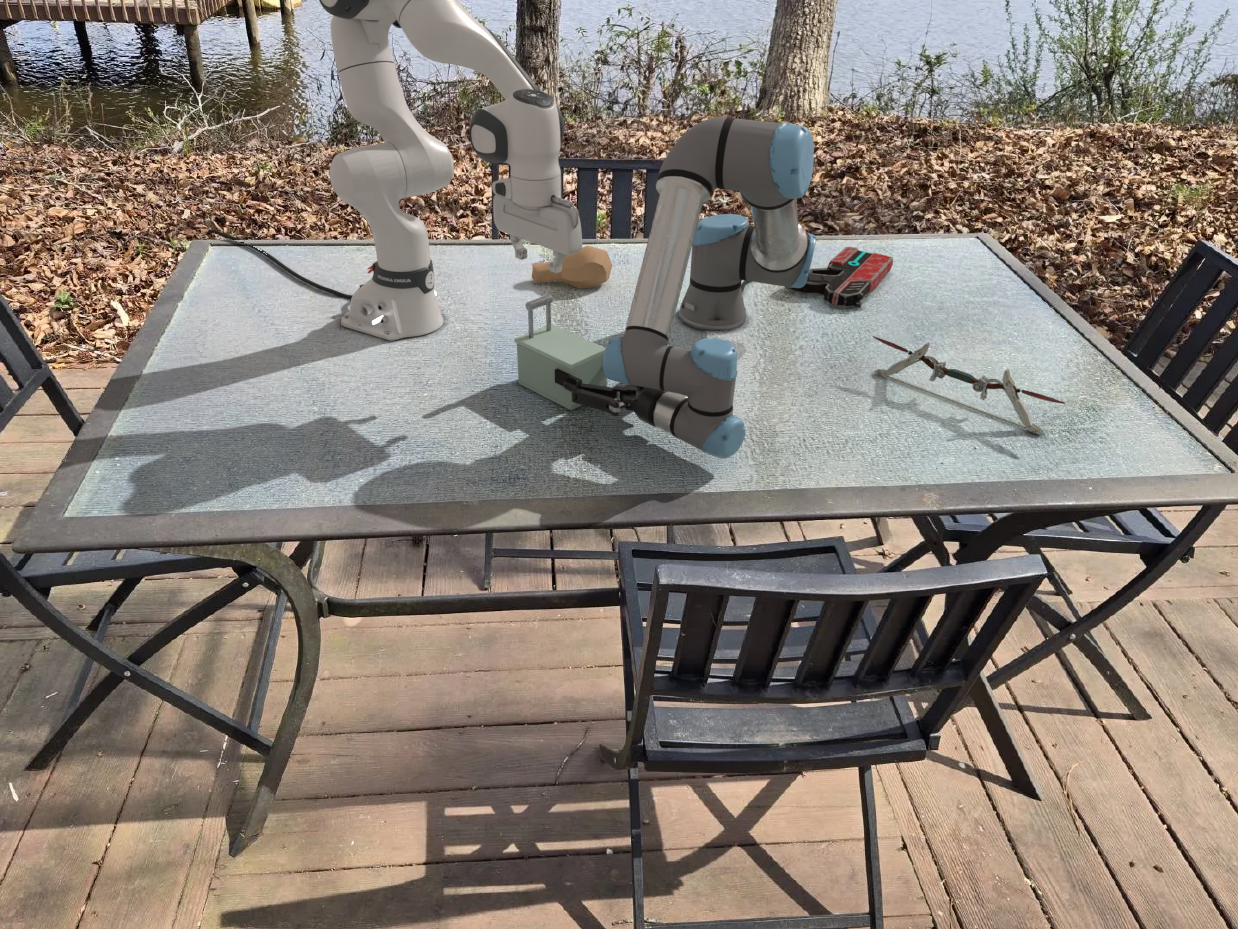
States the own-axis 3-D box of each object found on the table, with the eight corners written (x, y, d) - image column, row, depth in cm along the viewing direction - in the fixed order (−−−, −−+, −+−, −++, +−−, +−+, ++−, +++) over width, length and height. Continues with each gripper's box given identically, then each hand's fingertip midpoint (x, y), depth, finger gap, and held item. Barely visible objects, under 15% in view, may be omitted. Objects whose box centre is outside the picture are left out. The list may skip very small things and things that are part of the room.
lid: (514, 342, 169) (512, 302, 165) (551, 327, 175) (550, 288, 171) (571, 369, 161) (570, 327, 156) (607, 352, 167) (608, 312, 162)
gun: (782, 277, 212) (859, 296, 204) (826, 238, 234) (898, 255, 226) (779, 294, 214) (856, 314, 207) (823, 255, 236) (894, 271, 229)
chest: (518, 383, 174) (516, 343, 169) (554, 367, 180) (553, 328, 175) (571, 410, 165) (570, 369, 161) (606, 393, 171) (607, 352, 167)
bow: (1055, 436, 162) (1072, 389, 156) (1051, 440, 160) (1068, 392, 155) (868, 367, 183) (877, 323, 177) (863, 370, 182) (872, 326, 176)
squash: (613, 292, 213) (609, 260, 207) (532, 299, 215) (526, 267, 209) (614, 269, 221) (610, 237, 215) (536, 276, 223) (529, 244, 217)
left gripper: (590, 199, 151) (590, 275, 159) (512, 174, 163) (515, 247, 170) (564, 207, 147) (565, 284, 155) (485, 181, 159) (490, 254, 166)
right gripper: (621, 450, 150) (532, 403, 162) (702, 404, 163) (615, 365, 176) (622, 412, 146) (531, 367, 158) (705, 368, 159) (616, 330, 172)
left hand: (538, 264), depth 163 cm, fingers open, 8 cm apart
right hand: (575, 366), depth 167 cm, fingers closed on chest, 10 cm apart
